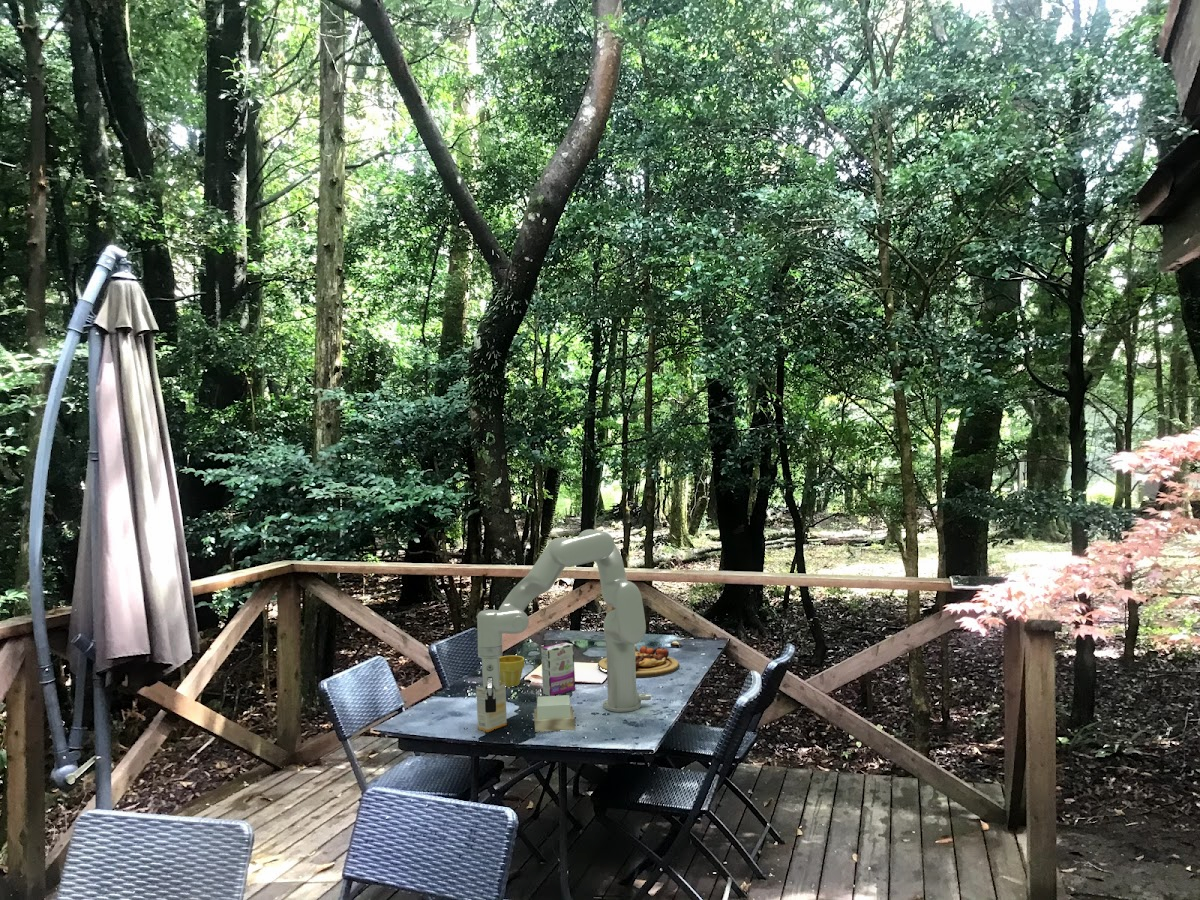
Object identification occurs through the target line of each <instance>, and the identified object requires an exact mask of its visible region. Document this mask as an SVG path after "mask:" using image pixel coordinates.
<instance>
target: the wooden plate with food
mask: <svg viewBox="0 0 1200 900" xmlns="http://www.w3.org/2000/svg"><path fill="white" fill-rule="evenodd" d="M669 652H670V651H669V650H668V649H667V648H666V647H663V648H661V647H660V646H657V648H655V649H654V647H647V645H643V646H641V647H640V649H639V650H638V648H637V647H636V646H635V657H636V659H635V662H636V678H652V676H654V677H660V675H661V676H665V675H664V674H666V675H669V674H668V673H670V674H672V673H671V672H673V673H674V671H675V672H676V671H677V670H678V669H679V668H680V663H679V661H678V660H677V659H675V658H674V657H671V656H669V655H670V654H669ZM598 666H599V667H601V668H602V669H605V670H607V656H606V657H604V658H602V659H600V660H599V661H598V663H597V667H598Z"/></svg>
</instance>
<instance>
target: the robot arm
mask: <svg viewBox="0 0 1200 900" xmlns="http://www.w3.org/2000/svg"><path fill="white" fill-rule="evenodd" d="M592 562H595V563H596V566H597V570H598V573H599V581H600V587H601V595H602V599H603V601H604V602H605V604H606V605H608V606H610V607H611V608H614V609H612V610H610V611H609V612H608V613H607V614H606V615H605V617H604V621H603V634H604V639H605V646H606V647H605V651H606V657H607V673H606V677H607V679H606V680H607V681H606V682H607V683H606V684H607V699H606V700H604V701H603V702H602V703H603V704H602V706H603V709H605V710H607V711H610V712H616V713H625V712H633V711H636V710H639V709H640V708H642V701H651V700H652V696H651V695H652V694H650V693H648V694H647V693H646V692H643V693H642V692H641V693H639V692H638V690H637V677H636V662H635V659H636V657H635V647H636V645H638V644H639V643H640V642H642V640H643V639H644V637H645V635H646V632H647V631H646V630H647V625H646V618H645V616H646V615H645V609H644V603H643V598H642V594H641V591H640V589H639V587H638V586H637V584H635V583H634V582H632V581H630V580H628V578H627V575H626V569H625V566H624V560H623V557H622V555H621V552H620V550H619V548H618V547H617V546H616V544H615V541H614V538H613V536H611V535H610V534H609V533H608V532H606V531H602V530H598V529H591V528H589V529H585V530H583V531H581V532H580V533H579V534H578V536H577V537H575V538H566V537H556V538H553V539H552V540H550V541H549V543H547V546H546V547H545V548H544V550H543V551H542V553H541V554H540V556H539V557H538V559H536V562H535V563H534V565H533V566H532V568H531V569H530V571H529V572H528V574H527V575H525V577H523V578H522V579H521V580H520V581H519V582H518V583H517V584H516V585H515V586H514V587H513V588H512V589H511V590H510V592H509V593H508V594H507V596H506V597H505V598H504V600H503V602H502V603H501V605H500V606H499V607H498V610H497V609H483V610H481V611H479V612H478V614H477V615H476V616H477V617H476V621H477V623H476V624H477V625H476V626H477V658H479V659H481V668H482V669H481V670H482V685H483V687H484V691H486V699H485V712H486V713H490V712H496V698H495V689H496V690H497V689H498V690H499V689H500V682H501V681H500V659H499V657H502V656H503V655H504V654H503V652H504V651H503V634H508V635H509V634H510V635H514V634H515V635H516V634H521V633H523V632H524V631H525V630H526V629H528V626H529V623H530V622H529V616H528V615H527V613H526V612H525V610H526V609H527V607H528V606H529V604H530V603H531V602H532V601H533V600H534V599H535V598H537V597H539V596H540V595H543V594H545V593H547V592H548V591H549V590H550V589H552V587H553V585H554V584H555V582H556V581H557V579H558V578H559V577H560V575H561V574H562V572H563V571H564V569H565V568H566V567H567V568H568V567H575V566H580V565H581V566H582V565H585V564H589V563H592ZM485 687H486V689H485ZM487 688H488V689H487Z"/></svg>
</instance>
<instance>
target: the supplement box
mask: <svg viewBox="0 0 1200 900" xmlns="http://www.w3.org/2000/svg"><path fill="white" fill-rule="evenodd" d="M485 689H486V687H485ZM487 689H488V688H487ZM506 689H507V688H506V687H505V683H503V682H501V681H500V689H499V690H498V689H497V690H496V689H495V698H496V712H490V713H486V712H485V699H486V691H484V687H483V684H481V685H479V686H477V687H476V689H475V690H476V691H475V692H476V713H477V715H476V716H477V718H476V719H477V730H478V729H479V731H481V730H483V731H482V732H485V731H486V732H485V733H489V732H492V731H494V729H495V730H496V729H499V728H503V727H505V726H507V725H508V724H507V723H508V721H507V718H508V717H507V693H506V692H507V690H506Z"/></svg>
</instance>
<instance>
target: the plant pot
mask: <svg viewBox="0 0 1200 900" xmlns="http://www.w3.org/2000/svg"><path fill="white" fill-rule="evenodd" d="M499 659H500V682H503V683H505V686H506V687H512V686H516V685H519V684H520V683H521V678H522V674H523V669H524V668H525V657H524V656H521V655H512V654H511V655H509V654H508V655H504V656H503V655H502V656H501V657H499ZM519 686H520V685H519Z"/></svg>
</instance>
